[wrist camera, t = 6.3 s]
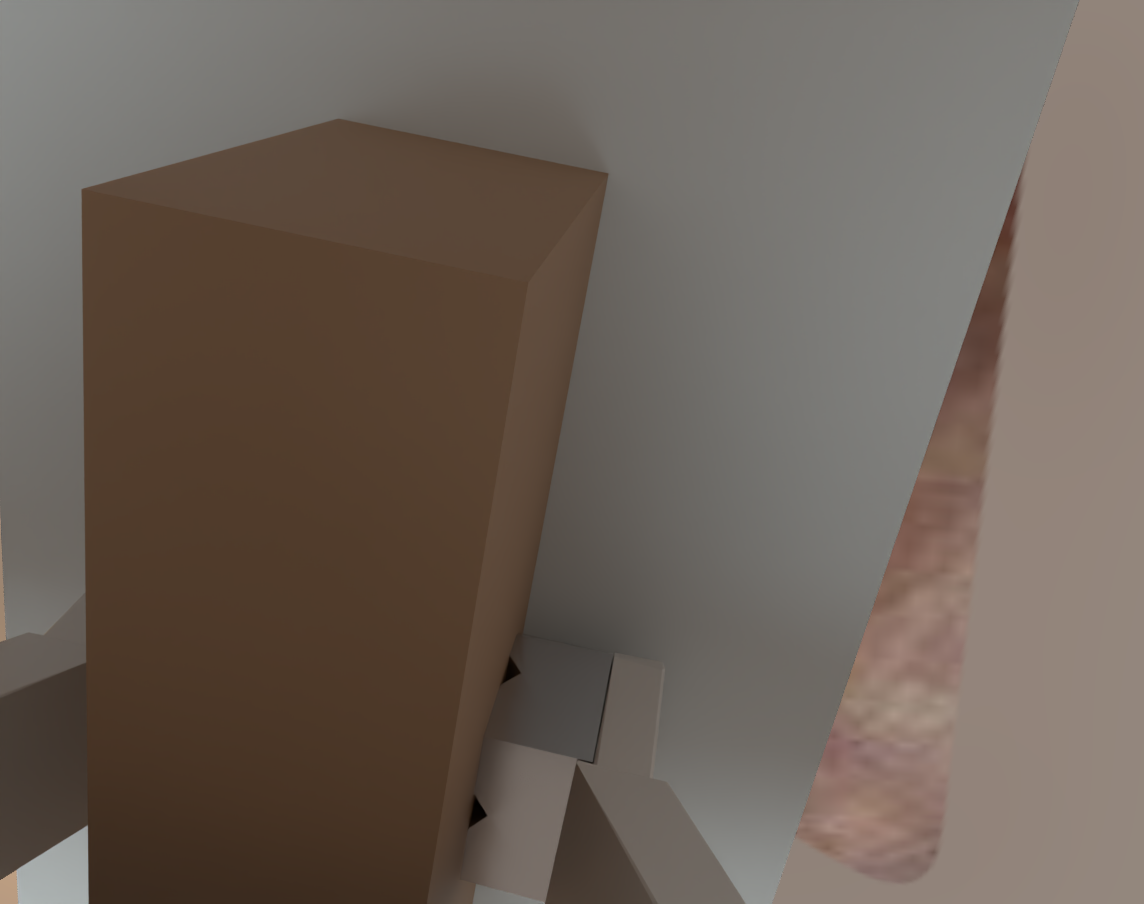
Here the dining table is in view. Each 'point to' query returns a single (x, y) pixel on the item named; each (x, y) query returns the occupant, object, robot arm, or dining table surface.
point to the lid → (470, 394)
